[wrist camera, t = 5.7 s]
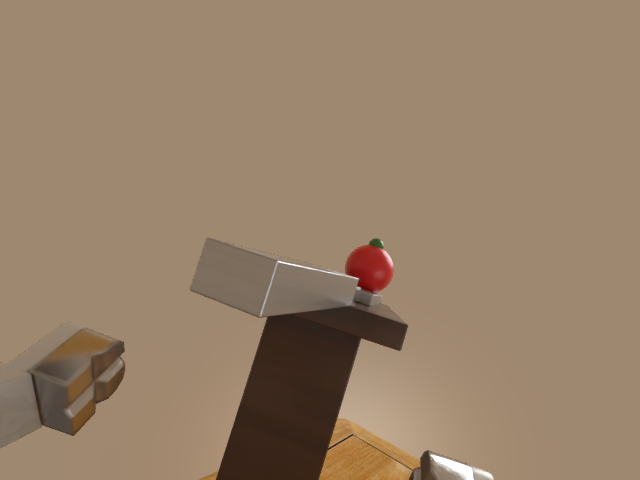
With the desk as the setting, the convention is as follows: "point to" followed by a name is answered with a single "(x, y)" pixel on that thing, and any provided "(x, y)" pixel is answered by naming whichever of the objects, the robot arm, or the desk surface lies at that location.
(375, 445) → the desk surface
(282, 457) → the stand
